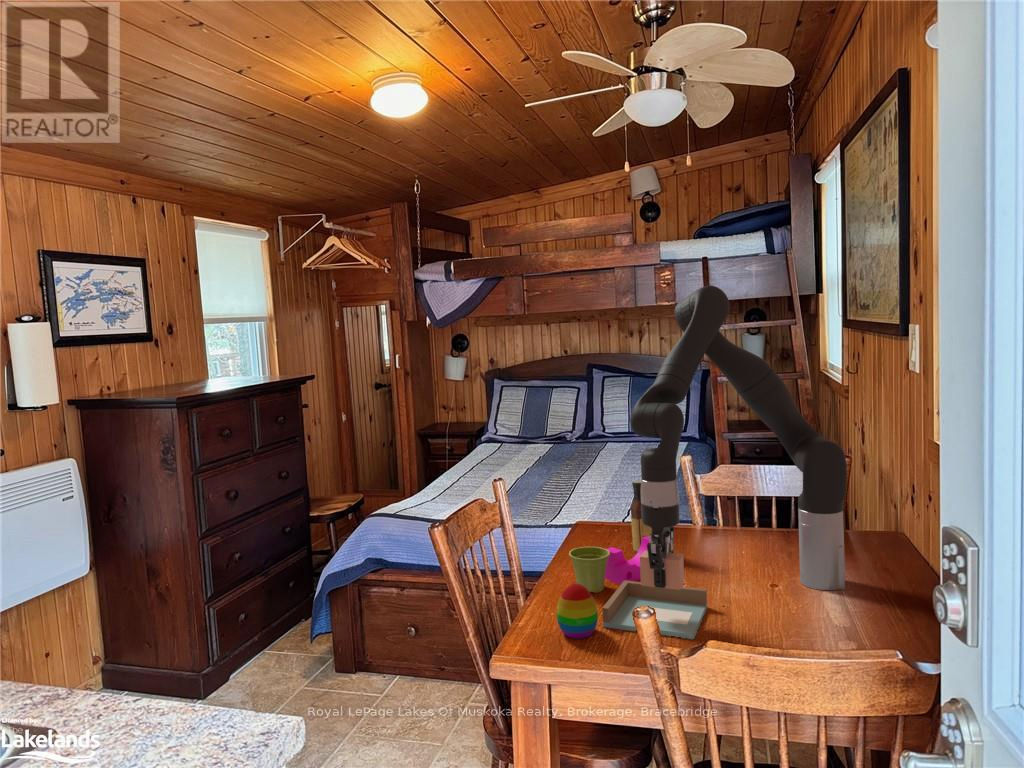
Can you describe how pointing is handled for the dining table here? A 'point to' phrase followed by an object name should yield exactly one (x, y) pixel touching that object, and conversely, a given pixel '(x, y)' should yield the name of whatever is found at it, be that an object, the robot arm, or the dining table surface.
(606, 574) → the toy block
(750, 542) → the dining table surface
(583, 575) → the plant pot
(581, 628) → the decorative egg
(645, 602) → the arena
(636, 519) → the sauce bottle
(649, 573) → the block
